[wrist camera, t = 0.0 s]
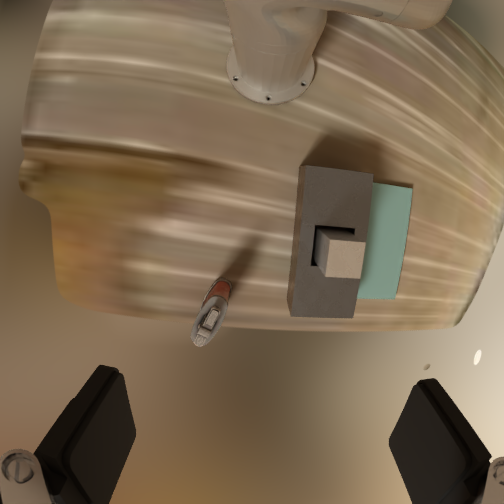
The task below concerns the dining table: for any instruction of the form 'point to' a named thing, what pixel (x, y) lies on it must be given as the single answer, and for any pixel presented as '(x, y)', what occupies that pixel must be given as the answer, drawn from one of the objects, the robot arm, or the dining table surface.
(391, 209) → the mat
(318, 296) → the rail
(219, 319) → the lighter
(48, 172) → the dining table surface
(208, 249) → the dining table surface
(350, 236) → the peg
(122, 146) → the dining table surface
